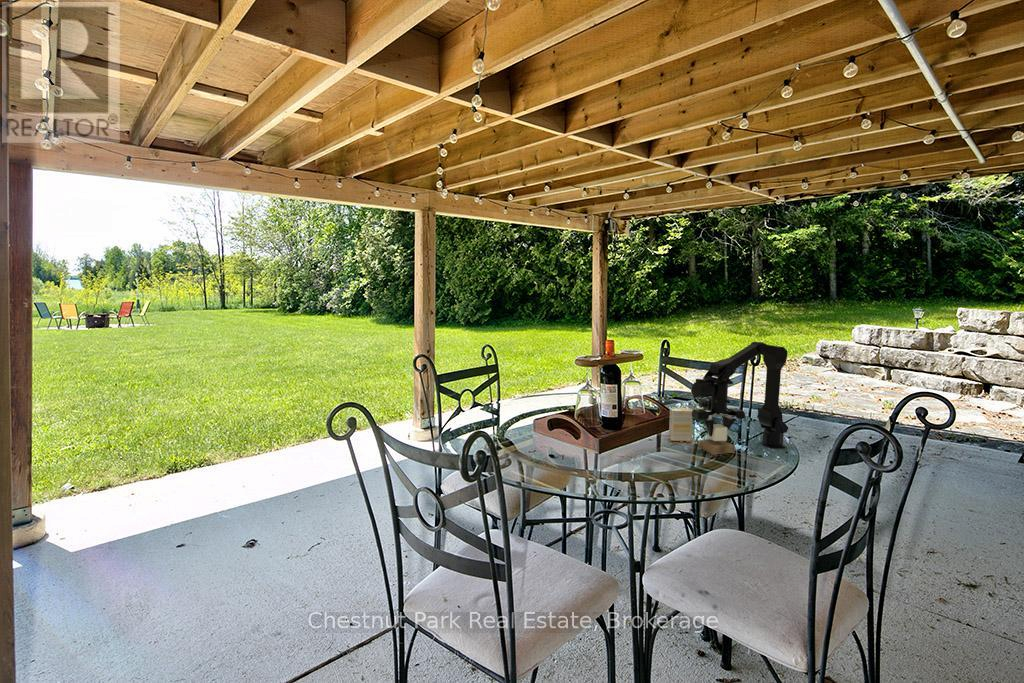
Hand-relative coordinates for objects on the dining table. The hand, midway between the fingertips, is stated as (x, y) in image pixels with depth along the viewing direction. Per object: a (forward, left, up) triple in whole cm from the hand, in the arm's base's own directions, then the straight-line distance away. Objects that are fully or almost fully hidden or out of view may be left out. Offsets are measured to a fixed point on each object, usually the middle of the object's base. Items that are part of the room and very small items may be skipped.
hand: (717, 436), depth 194 cm
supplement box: (+8, -14, -6) cm, 17 cm away
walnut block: (0, 0, -6) cm, 6 cm away
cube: (0, 0, -1) cm, 1 cm away
